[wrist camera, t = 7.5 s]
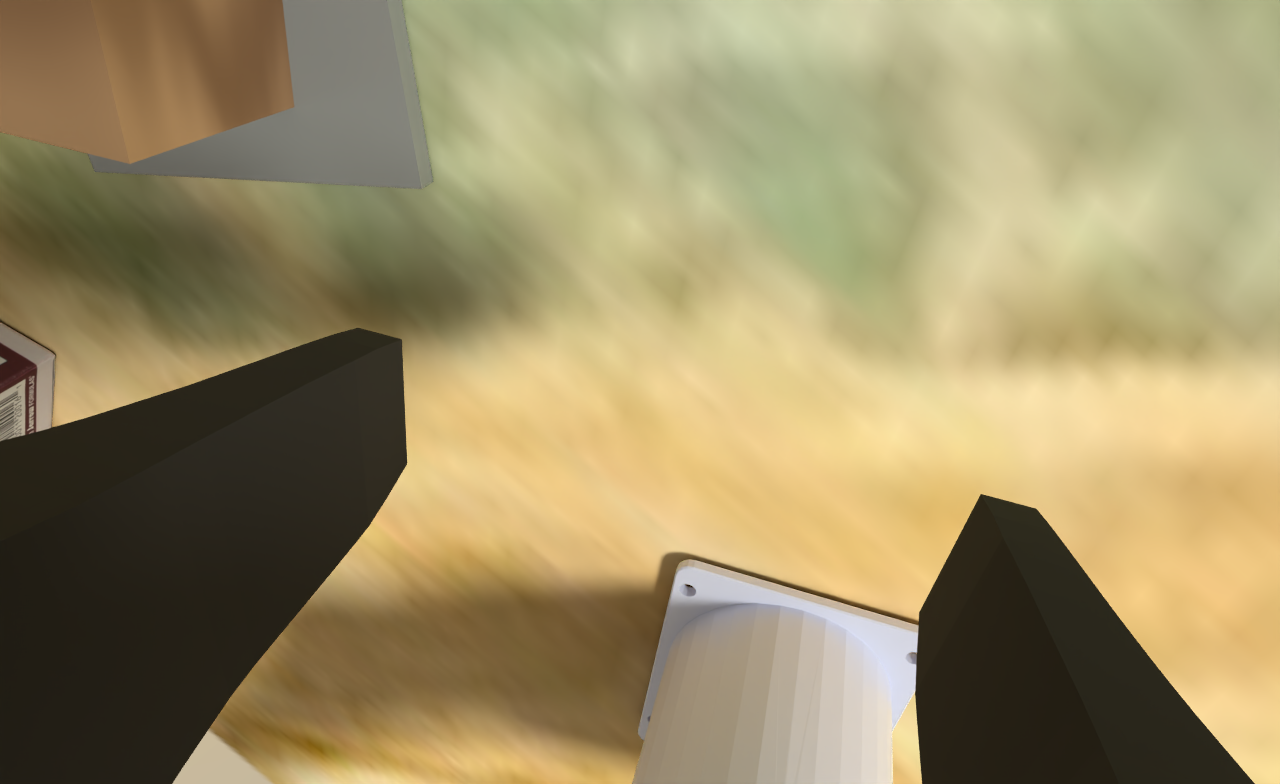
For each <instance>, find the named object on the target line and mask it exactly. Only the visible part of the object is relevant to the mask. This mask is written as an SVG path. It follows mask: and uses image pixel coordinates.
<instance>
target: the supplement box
mask: <svg viewBox="0 0 1280 784" xmlns="http://www.w3.org/2000/svg"><path fill="white" fill-rule="evenodd" d="M54 379H55V355H54V354H53V353H52V352H51V351H49V350H47V349H46V348H44V347H42V346H40V345H39V344H37V343H35V342H33V341H32V340H30V339H28V338H27V337H25V336H23V335H21V334H20V333H18V332H16V331H15V330H13V329H11V328H10V327H8V326H6V325H4V324H3V323H1V322H0V441H2V440H6V439H10V438H15V437H19V436H23V435H27V434H31V433H34V432H38V431H42V430H45V429H49V428H52V415H53V396H54V382H55V381H54Z"/></svg>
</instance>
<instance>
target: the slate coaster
mask: <svg viewBox="0 0 1280 784" xmlns="http://www.w3.org/2000/svg"><path fill="white" fill-rule="evenodd" d="M282 2H283V11H284V19H285V28H286V37H287V46H288V55H289V64H290V73H291V81H292V90H293V99H294V107H293V108H290V109H287V110H285V111H282V112H279V113H276V114H273V115H270V116H267V117H264V118H261V119H258V120H256V121H253V122H250V123H247V124H244V125H241V126H238V127H235V128H232V129H230V130H227V131H224V132H221V133H218V134H215V135H212V136H209V137H206V138H203V139H201V140H198V141H195V142H192V143H189V144H186V145H183V146H180V147H177V148H175V149H172V150H169V151H166V152H163V153H160V154H157V155H154V156H151V157H149V158H146V159H143V160H140V161H137V162H134V163H131V164H128V163H124V162H120V161H116V160H112V159H108V158H104V157H100V156H96V155H91V154H88V156H89V159H90V161H91V164H92V166H93V168H94V171H95V172H106V173H125V174H145V175H164V176H183V177H202V178H222V179H241V180H260V181H280V182H299V183H318V184H337V185H357V186H376V187H395V188H414V189H422V188H424V187H426V186H427V185H429V184H430V183H432V182H433V177H432V171H431V165H430V160H429V154H428V148H427V143H426V137H425V131H424V125H423V120H422V114H421V108H420V103H419V97H418V91H417V85H416V80H415V74H414V68H413V63H412V57H411V51H410V45H409V40H408V34H407V28H406V23H405V17H404V11H403V5H402V0H282Z"/></svg>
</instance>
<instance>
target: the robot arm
mask: <svg viewBox="0 0 1280 784" xmlns="http://www.w3.org/2000/svg"><path fill="white" fill-rule="evenodd" d="M406 465H407V450H406V427H405V404H404V381H403V358H402V339H398V338H394V337H391V336H387V335H383V334H379V333H376V332H372V331H368V330H364V329H361V328H356V329H352V330H348V331H345V332H341V333H338V334H334V335H331V336H328V337H325V338H322V339H319V340H316V341H313V342H310V343H307V344H304V345H301V346H298V347H296V348H293V349H290V350H287V351H284V352H281V353H279V354H276V355H273V356H270V357H267V358H265V359H262V360H259V361H256V362H253V363H251V364H248V365H245V366H242V367H239V368H236V369H234V370H231V371H228V372H225V373H222V374H219V375H217V376H214V377H211V378H208V379H205V380H203V381H200V382H197V383H194V384H191V385H188V386H185V387H182V388H179V389H176V390H173V391H170V392H167V393H163V394H160V395H157V396H154V397H151V398H148V399H145V400H141V401H138V402H135V403H132V404H129V405H126V406H123V407H119V408H116V409H113V410H110V411H107V412H104V413H101V414H97V415H94V416H91V417H88V418H85V419H81V420H78V421H74V422H71V423H67V424H64V425H60V426H56V427H53V428H49V429H45V430H42V431H38V432H34V433H31V434H27V435H23V436H19V437H15V438H10V439H6V440H2V441H0V784H172V783H173V781H174V780H175V778H176V777H177V775H178V774H179V772H180V771H181V769H182V767H183V766H184V765H185V763H186V762H187V760H188V759H189V757H190V756H191V754H192V753H193V751H194V750H195V748H196V747H197V745H198V744H199V742H200V741H201V739H202V738H203V736H204V735H205V734H206V732H207V731H208V729H209V728H210V726H211V725H212V723H213V722H214V720H215V719H216V717H217V716H218V714H219V713H220V711H221V710H222V709H223V707H224V706H225V704H226V703H227V701H228V700H229V698H230V697H231V696H232V694H233V693H234V692H235V690H236V689H237V688H238V686H239V685H240V684H241V682H242V681H243V680H244V678H245V677H246V676H247V675H248V673H249V672H250V671H251V669H252V668H253V667H254V665H255V664H256V663H257V662H258V660H259V659H260V658H261V657H262V656H263V654H264V653H265V652H266V651H267V650H268V648H269V647H270V646H271V645H272V644H273V642H274V641H275V640H276V639H277V638H278V636H279V635H280V634H281V633H282V632H283V630H284V629H285V628H286V627H287V625H288V624H289V623H290V622H291V621H292V619H293V618H294V617H295V616H296V615H297V613H298V612H299V611H300V610H301V609H302V607H303V606H304V605H305V604H306V603H307V601H308V600H309V599H310V598H311V597H312V595H313V594H314V593H315V592H316V591H317V589H318V588H319V587H320V586H321V584H322V583H323V582H324V581H325V580H326V578H327V577H328V576H329V575H330V574H331V572H332V571H333V570H334V569H335V567H336V566H337V565H338V564H339V563H340V561H341V560H342V559H343V558H344V556H345V555H346V554H347V553H348V552H349V550H350V549H351V548H352V547H353V545H354V544H355V543H356V542H357V540H358V539H359V538H360V537H361V535H362V534H363V533H364V532H365V530H366V529H367V528H368V527H369V525H370V524H371V522H372V520H373V519H374V517H375V516H376V514H377V513H378V511H379V509H380V508H381V506H382V505H383V503H384V502H385V500H386V499H387V497H388V495H389V493H390V492H391V490H392V488H393V487H394V485H395V483H396V482H397V480H398V478H399V477H400V475H401V473H402V472H403V470H404V468H405V466H406ZM684 584H688V585H691V586H693V587H688V586H686V585H684ZM911 652H917V654H913V653H911ZM914 692H915V696H916V711H917V724H918V737H919V750H920V763H921V774H922V784H1255V783H1254V782H1253V781H1252V780H1251V779H1250V778H1249V777H1248V775H1247V774H1246V773H1245V772H1244V771H1243V770H1242V768H1241V767H1240V766H1239V765H1238V764H1237V763H1236V761H1235V760H1234V759H1233V758H1232V757H1231V756H1230V754H1229V753H1228V752H1227V751H1226V750H1225V748H1224V747H1223V746H1222V745H1221V744H1220V743H1219V741H1218V740H1217V739H1216V738H1215V737H1214V736H1213V734H1212V733H1211V732H1210V731H1209V730H1208V729H1207V727H1206V726H1205V725H1204V724H1203V723H1202V722H1201V720H1200V719H1199V718H1198V717H1197V716H1196V715H1195V713H1194V712H1193V711H1192V710H1191V708H1190V707H1189V706H1188V705H1187V703H1186V702H1185V701H1184V700H1183V699H1182V697H1181V696H1180V695H1179V694H1178V692H1177V691H1176V690H1175V689H1174V687H1173V686H1172V685H1171V684H1170V683H1169V681H1168V680H1167V679H1166V678H1165V676H1164V675H1163V674H1162V672H1161V671H1160V670H1159V669H1158V667H1157V666H1156V665H1155V664H1154V662H1153V661H1152V660H1151V659H1150V657H1149V656H1148V655H1147V653H1146V652H1145V651H1144V650H1143V648H1142V647H1141V646H1140V644H1139V643H1138V642H1137V640H1136V639H1135V638H1134V637H1133V635H1132V634H1131V633H1130V631H1129V630H1128V629H1127V627H1126V626H1125V625H1124V623H1123V622H1122V621H1121V620H1120V618H1119V617H1118V616H1117V614H1116V613H1115V612H1114V610H1113V609H1112V608H1111V606H1110V605H1109V604H1108V602H1107V601H1106V600H1105V598H1104V597H1103V596H1102V594H1101V593H1100V592H1099V590H1098V589H1097V588H1096V586H1095V585H1094V584H1093V582H1092V581H1091V579H1090V578H1089V577H1088V575H1087V574H1086V573H1085V571H1084V570H1083V569H1082V567H1081V566H1080V565H1079V563H1078V562H1077V561H1076V559H1075V558H1074V557H1073V555H1072V554H1071V553H1070V551H1069V550H1068V549H1067V547H1066V546H1065V545H1064V543H1063V542H1062V541H1061V539H1060V538H1059V537H1058V535H1057V534H1056V533H1055V531H1054V530H1053V529H1052V528H1051V526H1050V525H1049V524H1048V522H1047V521H1046V520H1045V519H1044V518H1043V516H1042V515H1041V514H1040V513H1039V511H1038V510H1037V509H1035V508H1031V507H1028V506H1024V505H1020V504H1016V503H1013V502H1009V501H1005V500H1001V499H998V498H994V497H990V496H986V495H983V494H981V495H980V497H979V499H978V501H977V503H976V505H975V507H974V509H973V510H972V512H971V514H970V516H969V518H968V520H967V522H966V524H965V526H964V528H963V530H962V532H961V534H960V535H959V537H958V539H957V541H956V543H955V545H954V547H953V549H952V551H951V553H950V555H949V557H948V559H947V560H946V562H945V564H944V566H943V568H942V570H941V572H940V574H939V576H938V578H937V580H936V582H935V583H934V585H933V587H932V589H931V591H930V593H929V595H928V597H927V599H926V601H925V603H924V605H923V607H922V608H921V610H920V612H919V625H915V624H912V623H908V622H905V621H901V620H898V619H895V618H891V617H888V616H884V615H881V614H878V613H874V612H871V611H867V610H864V609H860V608H857V607H854V606H850V605H847V604H843V603H840V602H837V601H833V600H830V599H826V598H823V597H819V596H816V595H813V594H809V593H806V592H802V591H799V590H796V589H792V588H789V587H785V586H782V585H779V584H775V583H772V582H768V581H765V580H761V579H758V578H755V577H751V576H748V575H744V574H741V573H738V572H734V571H731V570H727V569H724V568H720V567H717V566H714V565H710V564H707V563H703V562H700V561H697V560H691V559H688V560H683V561H682V562H680V563H679V565H678V566H677V569H676V573H675V576H674V581H673V585H672V589H671V593H670V598H669V602H668V606H667V610H666V614H665V619H664V623H663V627H662V631H661V635H660V640H659V644H658V648H657V652H656V656H655V661H654V665H653V669H652V673H651V677H650V682H649V686H648V690H647V694H646V698H645V703H644V707H643V711H642V715H641V719H640V724H639V728H638V735H639V736H640V738H641V739H642V740H644V743H643V746H642V750H641V753H640V757H639V761H638V764H637V768H636V771H635V775H634V778H633V782H632V784H893V757H892V731H893V729H894V728H895V726H896V724H897V722H898V721H899V719H900V717H901V715H902V714H903V712H904V710H905V708H906V706H907V705H908V703H909V701H910V699H911V698H912V696H913V694H914Z"/></svg>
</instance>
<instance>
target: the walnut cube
mask: <svg viewBox="0 0 1280 784" xmlns="http://www.w3.org/2000/svg"><path fill="white" fill-rule="evenodd" d="M293 107H294V99H293V90H292V81H291V73H290V64H289V55H288V46H287V37H286V28H285V19H284V11H283V2H282V0H0V132H2V133H6V134H10V135H14V136H18V137H22V138H26V139H30V140H34V141H39V142H43V143H47V144H51V145H55V146H59V147H63V148H67V149H71V150H75V151H79V152H83V153H87V154H91V155H96V156H100V157H104V158H108V159H112V160H116V161H120V162H124V163H128V164H131V163H134V162H137V161H140V160H143V159H146V158H149V157H151V156H154V155H157V154H160V153H163V152H166V151H169V150H172V149H175V148H177V147H180V146H183V145H186V144H189V143H192V142H195V141H198V140H201V139H203V138H206V137H209V136H212V135H215V134H218V133H221V132H224V131H227V130H230V129H232V128H235V127H238V126H241V125H244V124H247V123H250V122H253V121H256V120H258V119H261V118H264V117H267V116H270V115H273V114H276V113H279V112H282V111H285V110H287V109H290V108H293Z"/></svg>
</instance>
